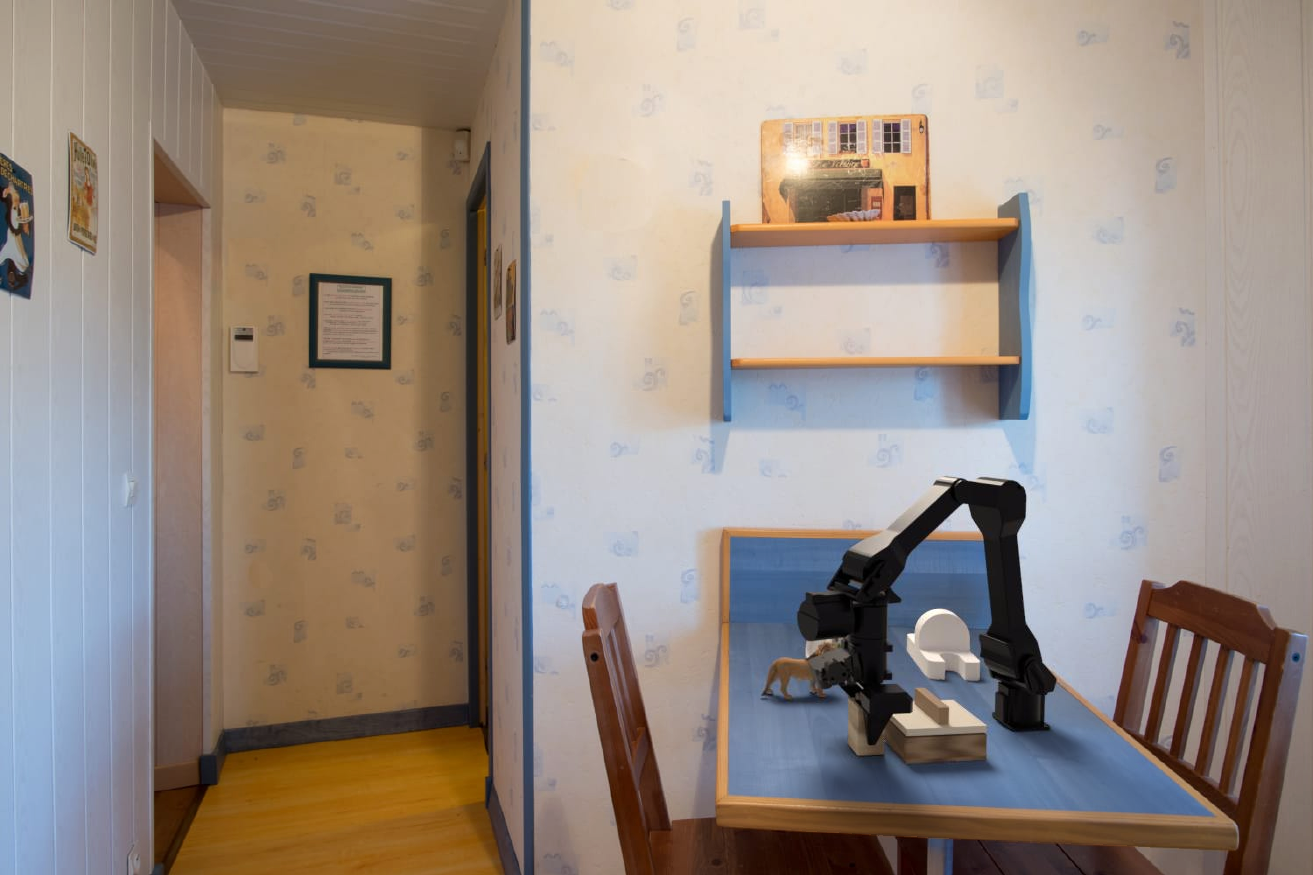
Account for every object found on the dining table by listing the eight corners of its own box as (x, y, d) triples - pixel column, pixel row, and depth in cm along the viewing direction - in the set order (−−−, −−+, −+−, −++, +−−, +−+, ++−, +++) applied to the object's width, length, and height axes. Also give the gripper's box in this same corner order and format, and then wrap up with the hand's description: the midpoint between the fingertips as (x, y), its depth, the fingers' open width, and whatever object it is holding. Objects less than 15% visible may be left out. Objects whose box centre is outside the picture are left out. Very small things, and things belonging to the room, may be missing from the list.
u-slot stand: (953, 651, 165) (954, 600, 165) (981, 682, 147) (982, 624, 147) (905, 650, 166) (906, 599, 165) (928, 680, 148) (929, 622, 147)
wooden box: (952, 731, 124) (952, 707, 124) (986, 759, 114) (986, 734, 114) (878, 734, 123) (878, 710, 123) (906, 763, 113) (906, 738, 113)
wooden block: (873, 742, 120) (874, 690, 119) (884, 754, 116) (885, 699, 115) (847, 743, 119) (848, 691, 119) (857, 755, 115) (858, 700, 115)
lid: (953, 706, 124) (953, 683, 124) (986, 732, 114) (987, 708, 114) (878, 709, 123) (879, 686, 122) (906, 736, 113) (907, 711, 113)
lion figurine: (830, 686, 144) (831, 636, 144) (845, 696, 139) (846, 645, 139) (755, 693, 140) (755, 643, 140) (767, 704, 135) (768, 652, 135)
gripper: (795, 618, 125) (794, 716, 126) (835, 655, 106) (834, 770, 107) (863, 616, 126) (862, 713, 127) (915, 653, 108) (913, 766, 108)
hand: (865, 738), depth 117 cm, fingers closed on wooden block, 4 cm apart
